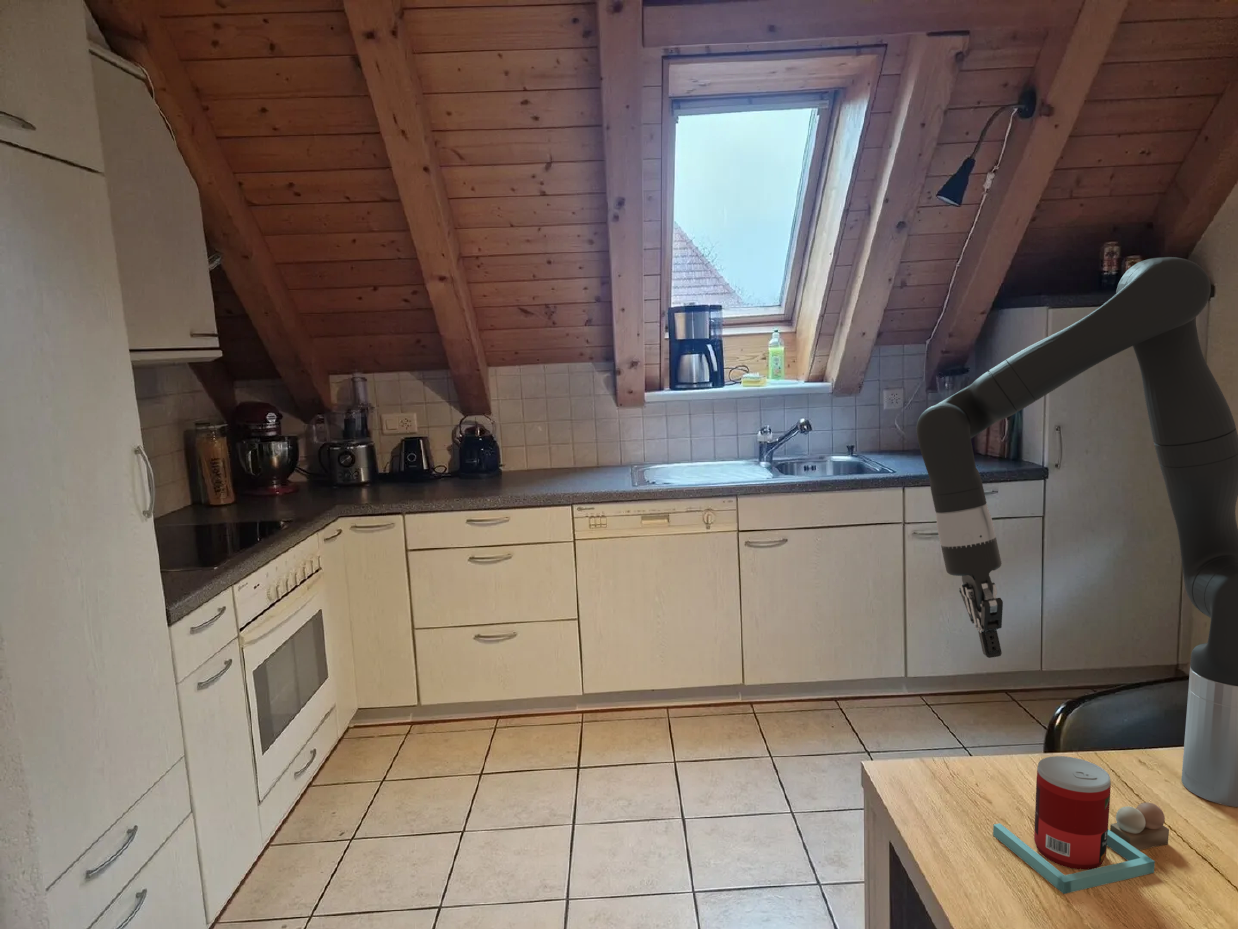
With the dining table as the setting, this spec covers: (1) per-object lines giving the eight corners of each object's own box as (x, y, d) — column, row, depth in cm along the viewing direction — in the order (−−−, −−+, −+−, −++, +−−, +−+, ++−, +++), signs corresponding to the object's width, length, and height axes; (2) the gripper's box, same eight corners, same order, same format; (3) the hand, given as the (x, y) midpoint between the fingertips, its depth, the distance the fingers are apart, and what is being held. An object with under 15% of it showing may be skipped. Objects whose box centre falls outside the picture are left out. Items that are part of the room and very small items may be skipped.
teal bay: (1076, 817, 111) (1076, 807, 110) (1154, 872, 99) (1154, 861, 99) (993, 835, 107) (993, 824, 107) (1063, 894, 96) (1064, 882, 96)
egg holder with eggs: (1147, 829, 107) (1149, 795, 107) (1169, 844, 104) (1171, 809, 104) (1108, 838, 106) (1110, 803, 105) (1129, 853, 103) (1131, 817, 102)
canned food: (1117, 873, 99) (1122, 789, 98) (1046, 870, 100) (1051, 786, 99) (1090, 835, 107) (1094, 756, 105) (1024, 832, 108) (1028, 754, 106)
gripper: (1009, 538, 112) (1036, 663, 112) (980, 529, 125) (1004, 640, 125) (953, 549, 113) (980, 672, 113) (930, 538, 126) (953, 649, 126)
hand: (992, 655), depth 119 cm, fingers closed
